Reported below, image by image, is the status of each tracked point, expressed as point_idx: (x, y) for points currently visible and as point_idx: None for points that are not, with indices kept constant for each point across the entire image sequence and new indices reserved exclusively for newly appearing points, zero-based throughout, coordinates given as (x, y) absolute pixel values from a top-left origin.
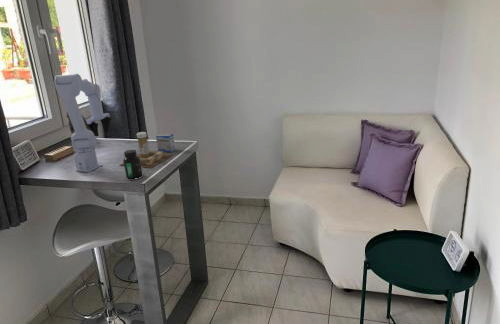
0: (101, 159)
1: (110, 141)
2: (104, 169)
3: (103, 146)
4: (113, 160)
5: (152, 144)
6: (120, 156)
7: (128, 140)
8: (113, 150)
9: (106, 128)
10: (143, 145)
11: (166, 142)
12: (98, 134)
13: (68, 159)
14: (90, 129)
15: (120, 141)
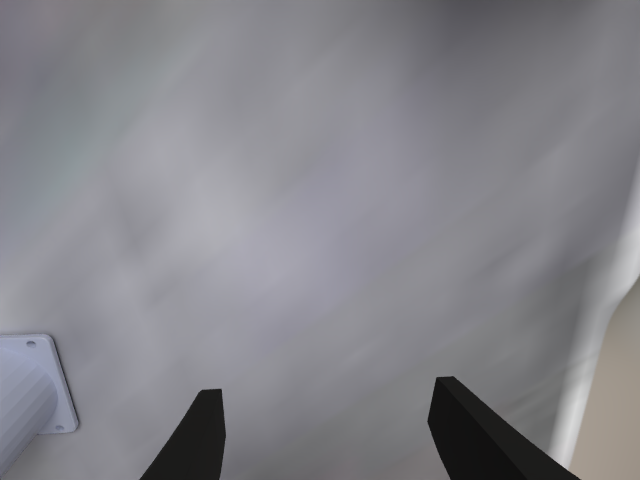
0: (172, 339)
1: (629, 77)
2: (32, 474)
3: (477, 116)
4: None
5: None
6: (262, 415)
7: (618, 241)
8: (373, 289)
9: (459, 469)
10: None
11: None
12: (220, 466)
13: (45, 5)
14: None
15: (605, 187)
